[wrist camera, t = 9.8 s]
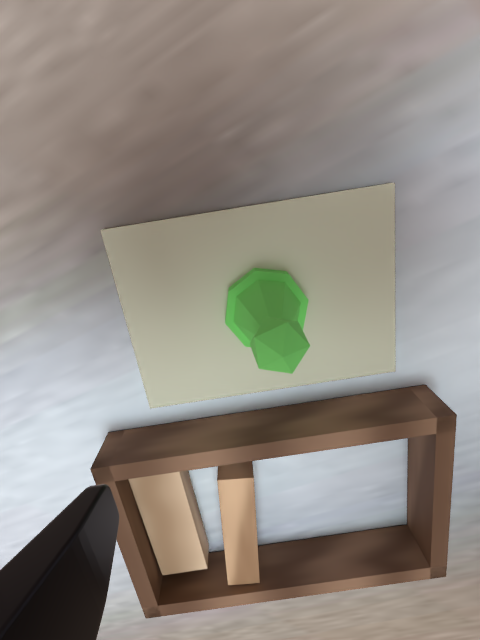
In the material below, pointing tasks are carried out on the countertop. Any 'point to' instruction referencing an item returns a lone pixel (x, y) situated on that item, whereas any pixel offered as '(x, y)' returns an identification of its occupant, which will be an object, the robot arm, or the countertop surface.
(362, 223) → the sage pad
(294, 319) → the game piece
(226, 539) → the offcut top
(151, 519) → the block
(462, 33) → the countertop surface
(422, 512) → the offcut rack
